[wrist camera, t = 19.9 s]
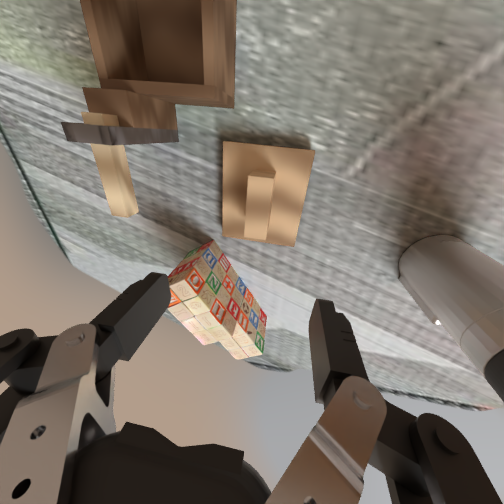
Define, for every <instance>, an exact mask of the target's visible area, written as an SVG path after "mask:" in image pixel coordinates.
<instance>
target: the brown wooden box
mask: <svg viewBox="0 0 504 504" xmlns="http://www.w3.org/2000/svg"><path fill="white" fill-rule="evenodd" d="M80 3H81V7H82V11H83V15H84V19H85V23H86V27H87V31H88V35H89V39H90V44H91V48H92V52H93V56H94V60H95V64H96V68H97V72H98V76H99V80H100V84H101V88H102V89H100V88H86V87H82V88H83V92H84V95H85V99H86V103H87V106H88V110H89V113H101V114H109V115H117V118H118V122H119V126H103V125H91V124H84V123H69V122H61V124H62V127H63V130H64V133H65V135H66V138H67V141H72V142H82V143H92V144H102V145H131V144H149V143H167V142H179V139H178V129H177V119H176V109H175V104H182V105H195V106H209V107H222V108H234V92H235V49H236V6H237V0H80Z"/></svg>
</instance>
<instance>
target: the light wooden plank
mask: <svg viewBox="0 0 504 504" xmlns="http://www.w3.org/2000/svg"><path fill="white" fill-rule="evenodd" d="M81 114H82V117H83V120H84V124H91V125H103V126H119V122H118V118H117V115H109V114H101V113H89V112H81ZM90 144H91V147H92V150H93V154H94V157H95V160H96V164H97V167H98V170H99V174H100V177H101V180H102V184H103V187H104V190H105V194H106V197H107V200H108V204H109V207H110V210H111V214H112V215H113V216H120V217H127V218H128V217H130V216H132V215H134V214H136V213H138V212H139V211H138V206H137V202H136V197H135V193H134V188H133V184H132V180H131V175H130V171H129V166H128V162H127V157H126V153H125V149H124V145H102V144H92V143H90Z"/></svg>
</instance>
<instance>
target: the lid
mask: <svg viewBox="0 0 504 504" xmlns="http://www.w3.org/2000/svg"><path fill="white" fill-rule="evenodd" d="M314 155H315V150H308V149H299V148H289V147H279V146H270V145H260V144H251V143H241V142H231V141H223V223H222V236H225V237H232V238H238V239H245V240H252V241H258V242H265V243H271V244H278V245H285V246H291V247H294V245H295V240H296V236H297V231H298V227H299V222H300V218H301V213H302V209H303V204H304V200H305V195H306V191H307V186H308V182H309V177H310V173H311V168H312V164H313V159H314Z"/></svg>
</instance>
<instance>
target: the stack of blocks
mask: <svg viewBox="0 0 504 504" xmlns="http://www.w3.org/2000/svg"><path fill="white" fill-rule="evenodd" d="M168 281H169V286H170V291H171V301H170V304H169V306H168V310H169V311H170V312H171V313H172V314H173V315H174V316H175V317H176V318H177V319H178V320H179V321H181V323H182V324H183V325H184V326H185V327H186V328H187V329H188V330H189V331H190V332H191V333H193V335H194V336H195V337H196V338H197V339H198V340H199V341H200V342H201V343H202V344H203V345H206V344H210V343H214V342H217V341H219V342H220V343H221V344H222V345H223V346H224V347H225V348H226V349H227V350H228V351H229V352H230V353H231V355H232V356H233V357H234V358H235V359H236V360H238V359H243V358H248V357H252V356H257V355H262V354H263V350H264V337H265V329H266V328H265V327H266V319H267V316H266V315H265V314H264V312H263V311H262V309H261V308H260V306H259V304H258V303H257V301H256V300H255V299H254V297H253V296H252V294H251V293H250V291H249V290H248V288H246V286H245V285H244V283H243V282H242V280H241V279H240V277H239V276H238V275H237V273H236V272H235V270H234V269H233V267H232V266H231V264H230V263H229V261H228V260H227V258H226V257H225V255H224V254H223V253H222V251H221V249H220V248H219V246H218V245H217V244H216V242H215V241H214V240H213V241H211V242H209V243H206V244H205V245H203V246H201V247H199V248H197V249H195V250H193V251H191V252H189V253H188V255H187V256H186V257H185V258H184V259H183V261H182V262H181V263H180V264H179V265H178V266H177V267H176V268H175V269H174V270H173V271H172V272H171V274H170V275H169V276H168Z"/></svg>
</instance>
